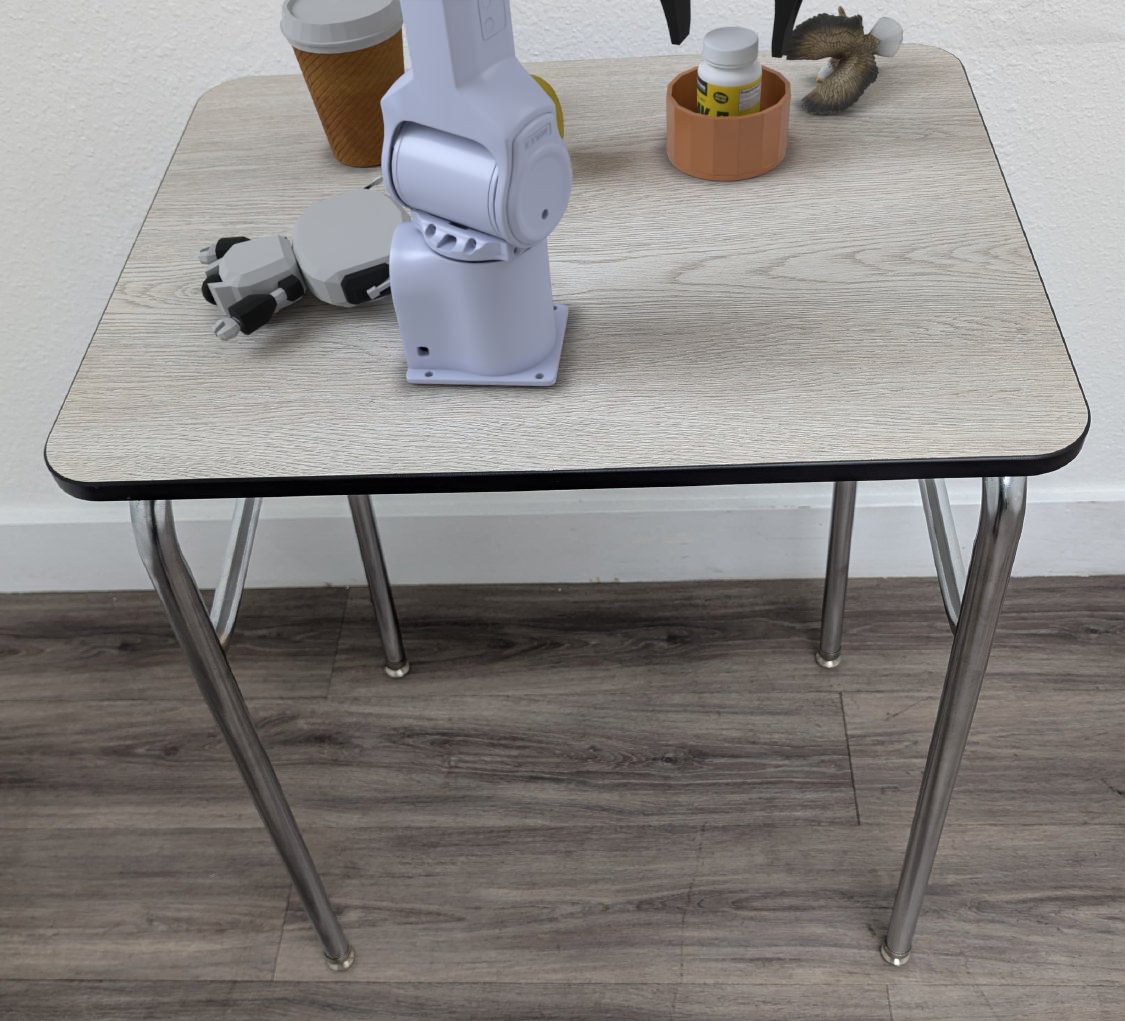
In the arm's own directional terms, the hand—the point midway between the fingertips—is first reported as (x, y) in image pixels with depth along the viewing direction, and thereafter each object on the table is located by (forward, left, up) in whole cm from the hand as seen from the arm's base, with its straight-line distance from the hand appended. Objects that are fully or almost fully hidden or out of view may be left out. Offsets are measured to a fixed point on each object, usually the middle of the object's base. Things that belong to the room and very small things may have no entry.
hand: (729, 45), depth 80 cm
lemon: (-15, -3, -8) cm, 17 cm away
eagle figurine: (+9, +10, -8) cm, 16 cm away
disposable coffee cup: (-29, +1, -8) cm, 30 cm away
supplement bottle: (0, 0, -8) cm, 8 cm away
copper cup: (0, 0, -8) cm, 8 cm away
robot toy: (-28, -19, -8) cm, 35 cm away
